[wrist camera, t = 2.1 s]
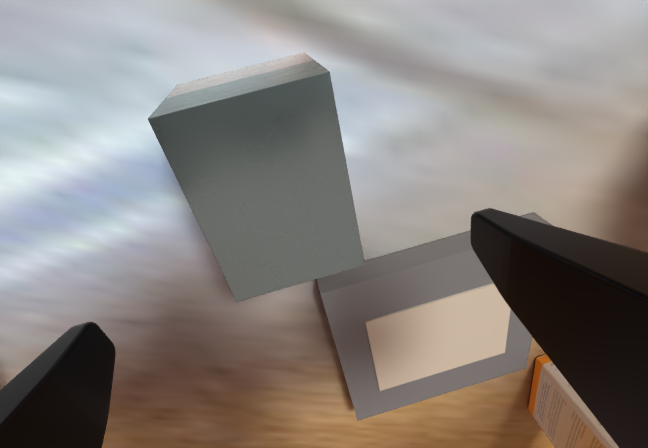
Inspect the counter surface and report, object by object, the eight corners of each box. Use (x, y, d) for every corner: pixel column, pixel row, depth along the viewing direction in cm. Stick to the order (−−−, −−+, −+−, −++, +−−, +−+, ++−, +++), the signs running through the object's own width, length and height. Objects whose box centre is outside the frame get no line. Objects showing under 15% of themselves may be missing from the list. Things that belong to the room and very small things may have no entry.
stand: (534, 212, 20) (555, 227, 19) (513, 351, 27) (527, 369, 26) (315, 275, 20) (320, 295, 18) (352, 401, 27) (358, 422, 25)
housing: (303, 52, 14) (329, 71, 10) (336, 203, 18) (365, 265, 13) (177, 84, 13) (147, 118, 9) (238, 230, 17) (236, 301, 13)
